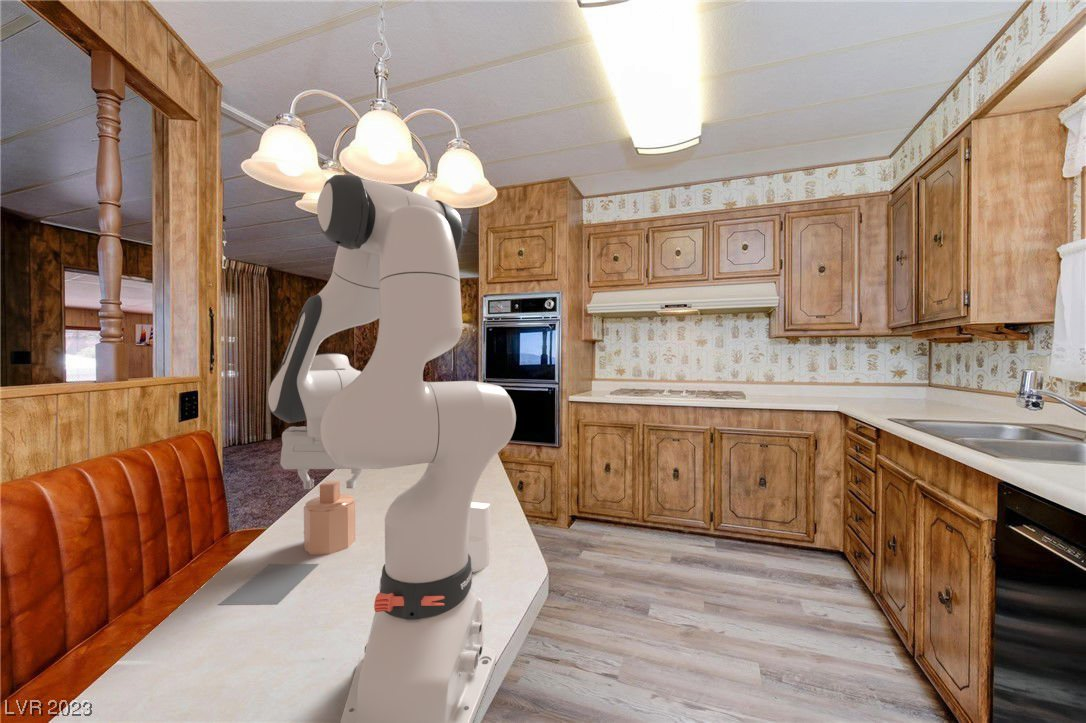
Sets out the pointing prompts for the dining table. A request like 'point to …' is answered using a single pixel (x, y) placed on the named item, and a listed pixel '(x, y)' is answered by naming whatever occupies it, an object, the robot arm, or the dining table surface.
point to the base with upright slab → (479, 535)
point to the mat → (270, 585)
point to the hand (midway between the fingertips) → (330, 488)
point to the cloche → (329, 520)
